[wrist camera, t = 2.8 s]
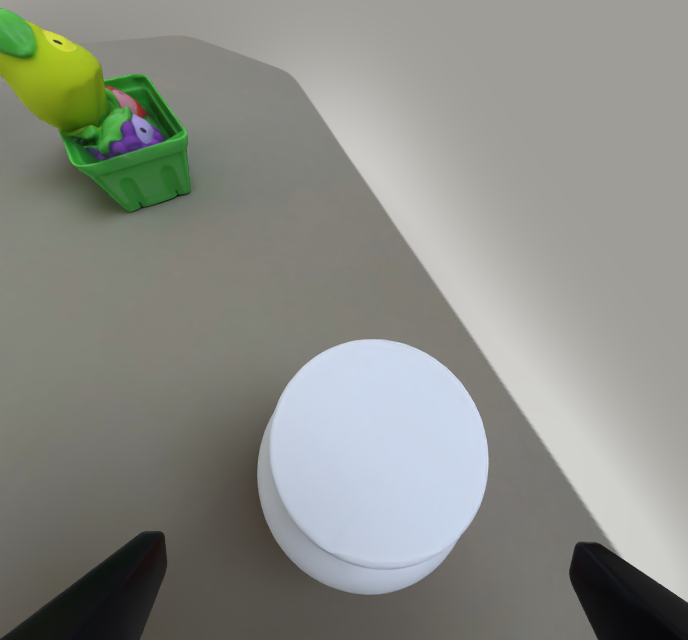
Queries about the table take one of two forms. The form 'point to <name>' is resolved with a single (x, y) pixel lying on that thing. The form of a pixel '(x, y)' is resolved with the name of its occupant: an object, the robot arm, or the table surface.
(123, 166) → the fruit basket
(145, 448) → the table surface
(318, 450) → the pill bottle
